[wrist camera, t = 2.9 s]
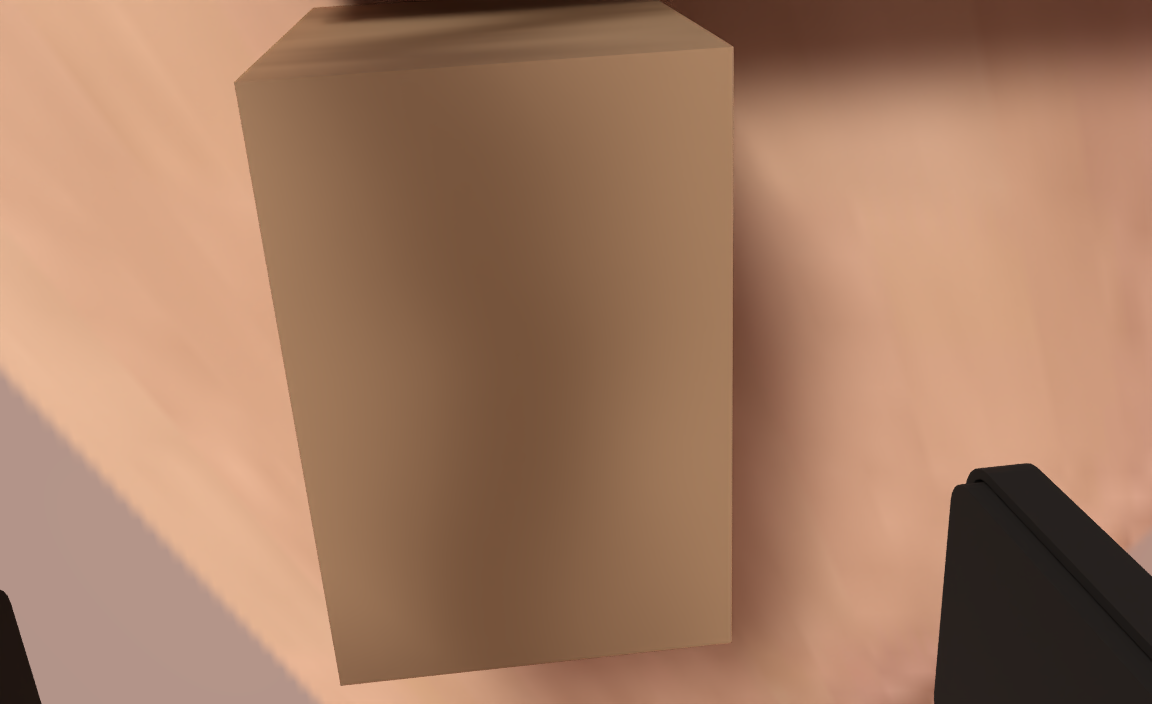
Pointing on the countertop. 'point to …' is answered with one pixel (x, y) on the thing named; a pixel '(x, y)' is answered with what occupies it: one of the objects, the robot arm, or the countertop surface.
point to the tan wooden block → (504, 324)
